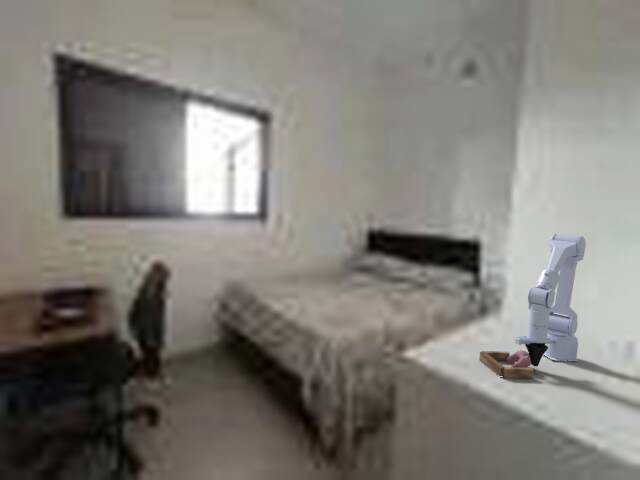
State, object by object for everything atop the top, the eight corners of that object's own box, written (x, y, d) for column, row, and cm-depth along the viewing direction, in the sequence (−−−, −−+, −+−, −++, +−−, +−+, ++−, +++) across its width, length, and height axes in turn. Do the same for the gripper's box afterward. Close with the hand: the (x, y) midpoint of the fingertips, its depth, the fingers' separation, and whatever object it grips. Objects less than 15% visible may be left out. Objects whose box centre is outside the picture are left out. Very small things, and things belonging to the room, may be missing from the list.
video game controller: (523, 378, 138) (535, 360, 137) (510, 370, 139) (522, 352, 137) (517, 367, 147) (528, 351, 146) (504, 360, 148) (516, 343, 147)
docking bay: (506, 360, 150) (507, 351, 150) (532, 379, 134) (533, 369, 134) (478, 359, 149) (479, 350, 149) (501, 378, 133) (502, 368, 133)
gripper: (548, 321, 146) (544, 360, 148) (510, 321, 143) (507, 361, 145) (564, 327, 140) (560, 368, 141) (525, 327, 137) (521, 369, 138)
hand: (534, 365), depth 142 cm, fingers closed
